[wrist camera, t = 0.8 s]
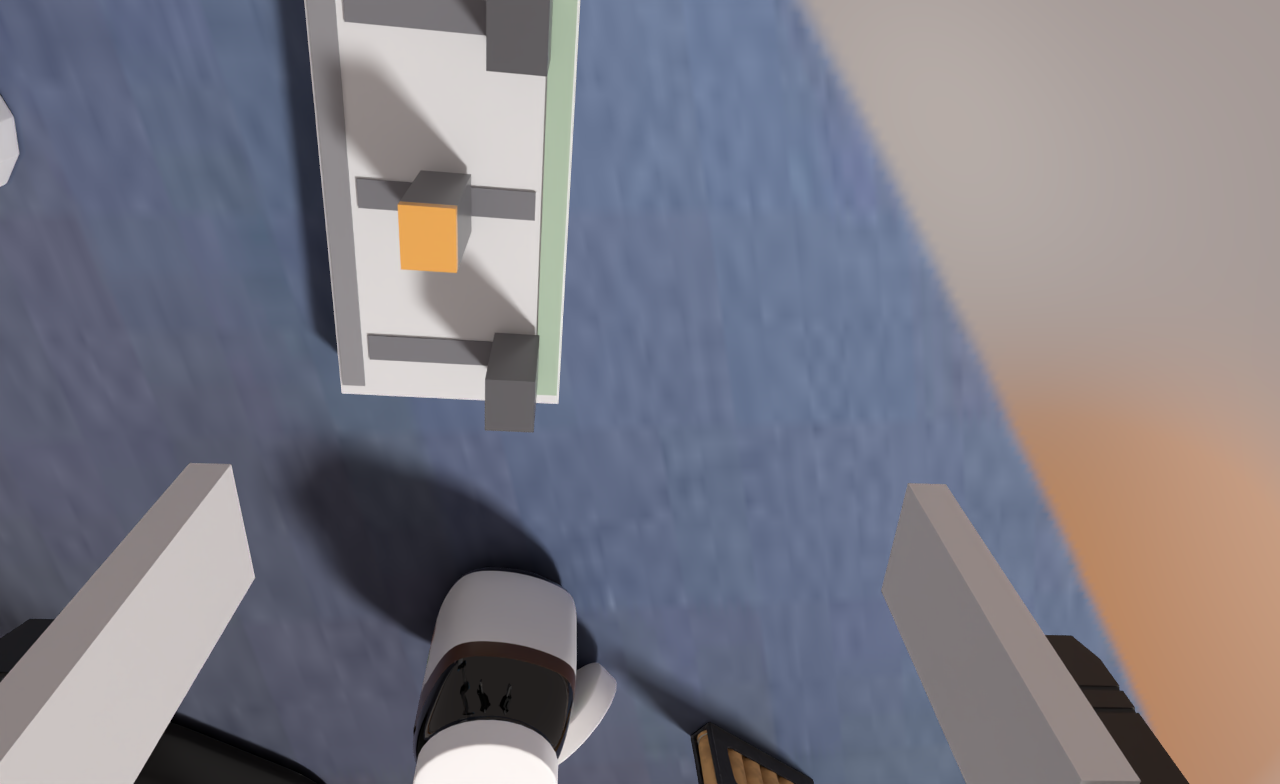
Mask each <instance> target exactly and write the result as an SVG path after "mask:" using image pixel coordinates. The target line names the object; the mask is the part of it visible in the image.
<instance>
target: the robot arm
mask: <svg viewBox="0 0 1280 784" xmlns="http://www.w3.org/2000/svg"><path fill="white" fill-rule="evenodd" d="M254 578H255V575H254V570H253V566H252V561H251V556H250V552H249V547H248V542H247V537H246V533H245V528H244V523H243V518H242V514H241V509H240V504H239V500H238V495H237V490H236V485H235V481H234V476H233V471H232V466H231V464H204V463H189V464H188V465H187V467H186V468H185V469H184V470H183V471H182V472H181V474H180V475H179V476H178V477H177V478H176V479H175V481H174V482H173V483H172V484H171V485H170V486H169V488H168V489H167V490H166V491H165V492H164V493H163V494H162V496H161V497H160V498H159V499H158V500H157V501H156V503H155V504H154V505H153V506H152V507H151V508H150V510H149V511H148V512H147V513H146V514H145V515H144V517H143V518H142V519H141V520H140V521H139V522H138V523H137V525H136V526H135V527H134V528H133V529H132V530H131V532H130V533H129V534H128V535H127V536H126V537H125V539H124V540H123V541H122V542H121V543H120V544H119V546H118V547H117V548H116V549H115V550H114V551H113V552H112V554H111V555H110V556H109V557H108V558H107V559H106V561H105V562H104V563H103V564H102V565H101V566H100V568H99V569H98V570H97V571H96V572H95V573H94V574H93V576H92V577H91V578H90V579H89V580H88V581H87V583H86V584H85V585H84V586H83V587H82V588H81V590H80V591H79V592H78V593H77V594H76V595H75V597H74V598H73V599H72V600H71V601H70V602H69V603H68V605H67V606H66V607H65V608H64V609H63V610H62V612H61V613H60V614H59V615H58V616H57V617H56V619H29V620H27V621H26V622H24V623H23V624H21V625H20V626H18V627H17V628H15V629H14V630H12V631H11V632H9V633H8V634H6V635H5V636H3V637H2V638H0V784H134V782H135V780H136V778H137V777H138V775H139V773H140V772H141V770H142V768H143V767H144V765H145V763H146V761H147V760H148V758H149V756H150V755H151V753H152V751H153V750H154V748H155V746H156V745H157V743H158V741H159V739H160V738H161V736H162V734H163V733H164V731H165V729H166V728H167V726H168V724H169V723H170V721H171V719H172V717H173V716H174V714H175V712H176V711H177V709H178V707H179V706H180V704H181V702H182V700H183V699H184V697H185V695H186V694H187V692H188V690H189V689H190V687H191V685H192V684H193V682H194V680H195V678H196V677H197V675H198V673H199V672H200V670H201V668H202V667H203V665H204V663H205V661H206V660H207V658H208V656H209V655H210V653H211V651H212V650H213V648H214V646H215V645H216V643H217V641H218V639H219V638H220V636H221V634H222V633H223V631H224V629H225V628H226V626H227V624H228V622H229V621H230V619H231V617H232V616H233V614H234V612H235V611H236V609H237V607H238V606H239V604H240V602H241V600H242V599H243V597H244V595H245V594H246V592H247V590H248V589H249V587H250V585H251V584H252V582H253V580H254ZM881 591H882V593H883V596H884V598H885V600H886V602H887V605H888V607H889V609H890V612H891V614H892V616H893V618H894V621H895V623H896V625H897V627H898V630H899V632H900V634H901V637H902V639H903V641H904V643H905V646H906V648H907V650H908V652H909V655H910V657H911V659H912V662H913V664H914V666H915V668H916V671H917V673H918V675H919V677H920V680H921V682H922V684H923V687H924V689H925V691H926V693H927V696H928V698H929V700H930V702H931V705H932V707H933V709H934V712H935V714H936V716H937V718H938V721H939V723H940V725H941V727H942V730H943V732H944V734H945V737H946V739H947V741H948V743H949V746H950V748H951V750H952V752H953V755H954V757H955V759H956V762H957V764H958V766H959V768H960V771H961V773H962V775H963V777H964V780H965V782H966V784H1189V783H1188V781H1187V780H1186V778H1185V777H1184V776H1183V774H1182V773H1181V771H1180V770H1179V769H1178V767H1177V766H1176V764H1175V763H1174V762H1173V760H1172V759H1171V758H1170V756H1169V755H1168V753H1167V752H1166V750H1165V749H1164V748H1163V746H1162V745H1161V743H1160V742H1159V741H1158V739H1157V738H1156V737H1155V735H1154V734H1153V732H1152V731H1151V730H1150V728H1149V727H1148V725H1147V724H1146V723H1145V721H1144V720H1143V718H1142V717H1141V716H1140V714H1139V713H1135V707H1134V706H1133V704H1132V703H1131V702H1130V700H1129V699H1128V697H1127V696H1126V695H1125V693H1124V692H1123V691H1120V690H1119V685H1118V683H1117V682H1116V681H1115V679H1114V678H1113V676H1112V675H1111V674H1110V672H1109V671H1108V669H1107V668H1106V667H1105V665H1104V664H1103V662H1102V661H1101V660H1100V659H1099V658H1098V657H1097V656H1096V655H1095V654H1093V653H1092V652H1091V651H1090V650H1088V649H1087V648H1086V647H1085V646H1084V645H1082V644H1081V643H1080V642H1079V641H1077V640H1076V639H1075V638H1074V637H1073V636H1066V635H1044V633H1043V632H1042V630H1041V629H1040V627H1039V625H1038V624H1037V622H1036V621H1035V619H1034V618H1033V616H1032V615H1031V613H1030V612H1029V610H1028V609H1027V607H1026V606H1025V604H1024V603H1023V601H1022V600H1021V598H1020V597H1019V595H1018V594H1017V592H1016V591H1015V589H1014V587H1013V586H1012V584H1011V583H1010V581H1009V580H1008V578H1007V577H1006V575H1005V574H1004V572H1003V571H1002V569H1001V568H1000V566H999V565H998V563H997V562H996V560H995V559H994V557H993V556H992V554H991V553H990V551H989V549H988V548H987V546H986V545H985V543H984V542H983V540H982V539H981V537H980V536H979V534H978V533H977V531H976V530H975V528H974V527H973V525H972V524H971V522H970V521H969V519H968V518H967V516H966V515H965V513H964V511H963V510H962V508H961V507H960V505H959V504H958V502H957V501H956V499H955V498H954V496H953V495H952V493H951V492H950V490H949V489H948V487H947V486H946V484H913V483H908V486H907V490H906V494H905V498H904V502H903V506H902V510H901V514H900V518H899V522H898V526H897V530H896V534H895V538H894V542H893V546H892V550H891V554H890V558H889V562H888V566H887V570H886V574H885V578H884V582H883V586H882V590H881Z"/></svg>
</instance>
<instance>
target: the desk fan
mask: <svg viewBox="0 0 1280 784" xmlns="http://www.w3.org/2000/svg"><path fill="white" fill-rule="evenodd" d="M134 784H317V783H315V782H314V781H312V780H310V779H309V778H307V777H305V776H303V775H301V774H299V773H297V772H295V771H293V770H290V769H288V768H286V767H283V766H281V765H278V764H276V763H273V762H271V761H268V760H266V759H263V758H261V757H258V756H256V755H253V754H251V753H248V752H246V751H243V750H241V749H238V748H236V747H233V746H231V745H229V744H226V743H224V742H221V741H219V740H216V739H214V738H211V737H209V736H206V735H204V734H201V733H199V732H196V731H194V730H191V729H189V728H186V727H183V726H180V725H178V724H174V723H171V722H170V723H169V724H168V726H167V728H166V729H165V731H164V733H163V734H162V736H161V738H160V739H159V741H158V743H157V745H156V746H155V748H154V750H153V751H152V753H151V755H150V756H149V758H148V760H147V761H146V763H145V765H144V767H143V768H142V770H141V772H140V773H139V775H138V777H137V778H136V780H135V782H134Z"/></svg>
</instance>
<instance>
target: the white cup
mask: <svg viewBox="0 0 1280 784" xmlns="http://www.w3.org/2000/svg"><path fill="white" fill-rule="evenodd" d="M18 156H19V147H18V141H17V134H16V128H15V121H14V117H13V115H12V113H11V111H10V110H9V108H8V107H7V105H6V103H5V102H4V100H3V98H2V97H1V95H0V187H1V186H3V185H5V184H6V183H7V182H8V180H9V177H10V175H11V172H12V170H13V168H14V165H15V163H16V161H17V158H18Z"/></svg>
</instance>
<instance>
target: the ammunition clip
mask: <svg viewBox="0 0 1280 784" xmlns="http://www.w3.org/2000/svg"><path fill="white" fill-rule="evenodd" d="M691 742H692V747H693V753H694V758H695V764H696V770H697V776H698V782H699V784H814V782H813V779H811V778H809V777H807V776H805V775H804V774H802V773H800V772H798V771H797V770H795V769H793V768H791V767H789V766H788V765H786V764H784V763H782V762H781V761H779V760H777V759H775V758H773V757H772V756H770V755H768V754H766V753H764V752H763V751H761V750H759V749H757V748H756V747H754V746H752V745H750V744H748V743H747V742H745V741H743V740H741V739H740V738H738V737H736V736H734V735H732V734H731V733H729V732H727V731H725V730H723V729H722V728H720V727H718V726H716V725H715V724H713V723H711V722H710V723H707V724H706V725H705V726H703V727H702V728H701V729H700V730H698V731H697V732H696V733H694V734H693V735H692V736H691Z"/></svg>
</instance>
